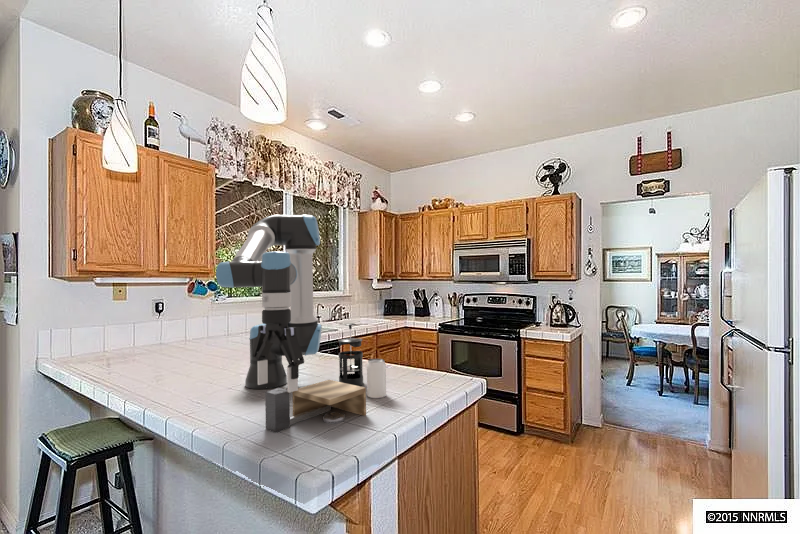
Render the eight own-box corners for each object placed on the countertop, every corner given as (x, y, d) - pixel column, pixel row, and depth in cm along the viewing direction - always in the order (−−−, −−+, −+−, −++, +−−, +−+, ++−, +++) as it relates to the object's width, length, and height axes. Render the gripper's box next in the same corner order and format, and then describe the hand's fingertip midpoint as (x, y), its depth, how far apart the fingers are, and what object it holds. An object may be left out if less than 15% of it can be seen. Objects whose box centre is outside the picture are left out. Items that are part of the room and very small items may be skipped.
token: (319, 421, 115) (318, 416, 115) (334, 415, 119) (334, 410, 119) (333, 426, 111) (333, 421, 111) (349, 419, 116) (349, 414, 116)
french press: (355, 390, 144) (354, 325, 145) (332, 387, 148) (331, 324, 148) (370, 382, 155) (369, 322, 156) (348, 379, 159) (347, 321, 159)
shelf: (292, 417, 117) (292, 389, 117) (329, 404, 128) (328, 379, 128) (330, 429, 107) (329, 399, 108) (366, 415, 118) (365, 387, 118)
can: (383, 399, 133) (383, 362, 134) (364, 398, 135) (364, 362, 135) (388, 393, 140) (387, 358, 140) (370, 392, 141) (369, 358, 141)
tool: (265, 428, 109) (265, 391, 109) (324, 408, 125) (323, 376, 125) (275, 432, 106) (275, 394, 106) (333, 411, 122) (333, 378, 122)
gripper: (239, 308, 115) (239, 383, 114) (293, 310, 99) (294, 398, 98) (262, 306, 121) (262, 378, 120) (317, 308, 105) (318, 391, 104)
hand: (277, 387), depth 109 cm, fingers open, 13 cm apart
